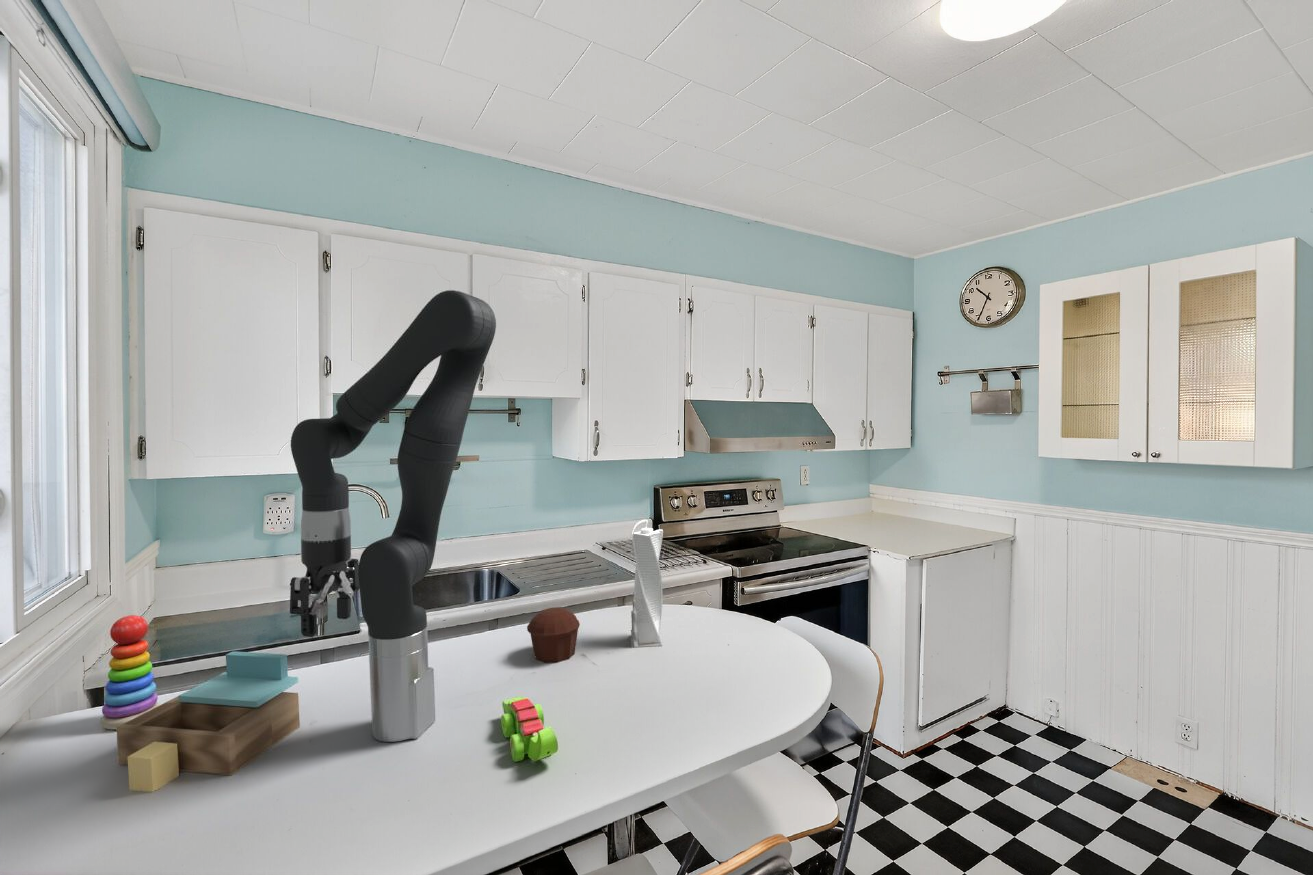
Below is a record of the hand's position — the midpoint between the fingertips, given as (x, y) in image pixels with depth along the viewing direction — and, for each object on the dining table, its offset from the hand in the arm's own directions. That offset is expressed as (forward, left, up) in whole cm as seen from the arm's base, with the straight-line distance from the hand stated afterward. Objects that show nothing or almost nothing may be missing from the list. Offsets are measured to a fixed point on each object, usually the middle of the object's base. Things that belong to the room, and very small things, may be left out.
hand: (327, 626), depth 105 cm
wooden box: (+15, +9, -17) cm, 24 cm away
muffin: (-29, -33, -17) cm, 48 cm away
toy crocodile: (-36, +1, -18) cm, 40 cm away
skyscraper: (-48, -44, -18) cm, 68 cm away
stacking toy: (+37, +4, -17) cm, 41 cm away
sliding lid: (+15, +3, -11) cm, 19 cm away
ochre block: (+15, +19, -17) cm, 29 cm away
